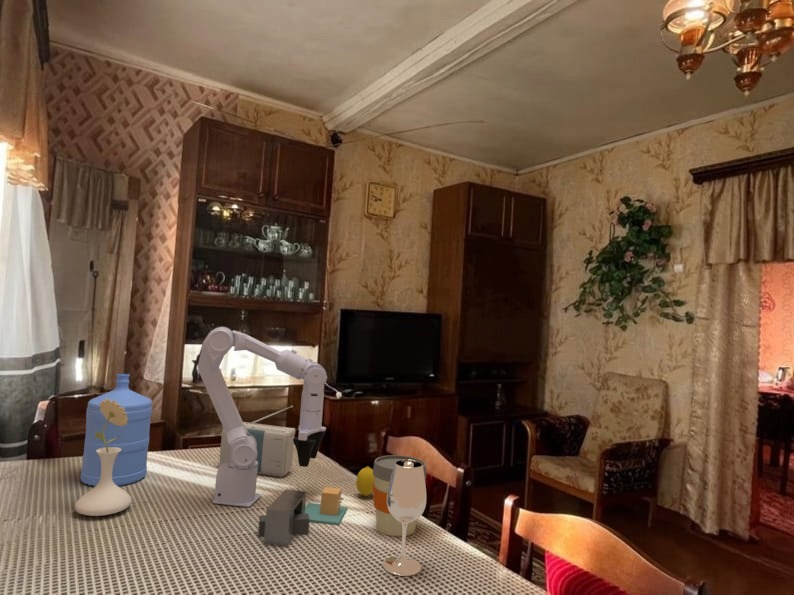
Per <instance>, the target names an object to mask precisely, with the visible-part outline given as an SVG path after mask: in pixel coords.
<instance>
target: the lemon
mask: <svg viewBox="0 0 794 595" xmlns="http://www.w3.org/2000/svg"><path fill="white" fill-rule="evenodd" d="M355 483H356V484H355V485H356V489H357V491H358V492H359V493H360V494H361V495H363V497H365V498H366V497H368V496H369V495H371V494H373V484H374V475H373V468H371V467H370V466H366V467H363V468H362V469H361V470H360V471H359V472H358V473H357V476H356V482H355Z"/></svg>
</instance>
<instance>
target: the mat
mask: <svg viewBox="0 0 794 595" xmlns="http://www.w3.org/2000/svg"><path fill="white" fill-rule="evenodd" d="M320 508H321V503H313V502H312V503H311V502H308V503H307V504H306V505H305V514H306V513H308V516H309V519H310V520H309V523H317V524H325V525H326V524H327V525H333V526H334V525H335V526H336V525H337V526H340V524H341V522H342V520H343V519H344V517H345V515H346V513H347V511H348V506H341V505H340V510H339V512H338V514H337V515H327V514H320Z"/></svg>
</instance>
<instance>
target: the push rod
mask: <svg viewBox="0 0 794 595" xmlns="http://www.w3.org/2000/svg"><path fill="white" fill-rule="evenodd" d="M309 520H310V519H309V516H308V513H306V514H294V516H293V529H292V536H299V535H300V536H302V535H309V533H310V532H309V530H310V522H309ZM265 521H266V514H264V515H259V519H258V538H264V533H265Z"/></svg>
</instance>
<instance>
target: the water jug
mask: <svg viewBox="0 0 794 595" xmlns="http://www.w3.org/2000/svg"><path fill="white" fill-rule="evenodd" d="M130 376H131V375H130V373H116V379H115V388H114V389H113V390H110V391H109V392H105V393H103V394H101V395H98V396H97V397H93V398H91V399H89V401H88V402H87V407H86V413H85V414H86V415H85V417H86V419H85V420H86V422H85V436H84V437H85V438H84V445H83V446H84V448H83V455H82V464H81V471H80V481H81V482H82V483H84V484H86V485H87V484H88V486H91V485H93V486H92V487H95V486H96V485H97V484H98V483H99V481H100V478H101V459H100V456H99V455H98V453H97V452H96V450H98V449H100V448H105V443H104V440H103V441H102V440H100V439H99V438H96V437H94V436H95V435H96V433H97V431H98V432H100V433H101V434H102V432H103V428H104V426H105V423H106V421H107V419H106V417H105V416H104V415H103V413H102V412H101V411H100V402H101V403H102V401H105V399H110V401H111V402H113V400H115V401H116V403H117V404H119V405H120V406H121V407H120V408H124V409H125V411H124V412H125V413H126V414H127V418H128V420H127V425H124V426H121V427H120V426H116V425H115V424H114V423H111V422H110V421H108V423H107V425H106V427H105V430H104V438H105V441H106V443H107V442H108V441H110V440H112V439H114V438H116V439H115V440H113V441H111V442H109V443H107V447H117V448H121V451H120V452H119V453H118V455H117V456H116V458H115V461H114V465H113V470H112V480H113V482H114V484H115V485H117V486H118V487H121V486H125V485H129V484H134V483H136V482H138V481H141V480H143V478H145V477H146V475H147V473H148V472H147V469H148V466H147V462H148V455H149V454H148V452H149V451H148V450H149V446H150V430H151V429H150V428H151V418H152V414H153V413H152V412H153V410H152V409H153V407H152V405H153V402H152V399H150V398H149V397H146V396H144V395H142V394H140V393H138V392H135V391H133V390H131V389H130V388H129V384H130V380H129V379H130ZM118 436H119V437H118ZM117 437H118V438H117Z"/></svg>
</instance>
